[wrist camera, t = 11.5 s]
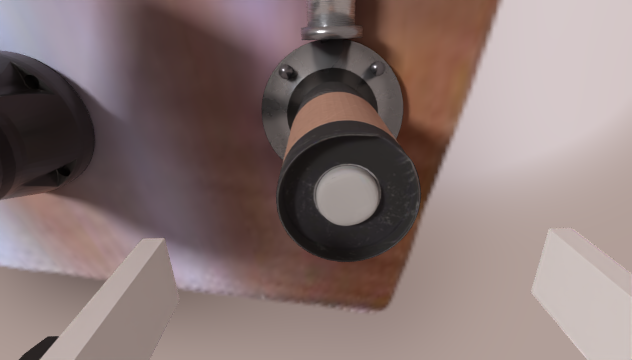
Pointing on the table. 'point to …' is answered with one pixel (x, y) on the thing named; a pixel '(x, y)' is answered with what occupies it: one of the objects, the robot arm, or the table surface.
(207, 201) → the table surface
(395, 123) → the fitting
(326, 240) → the travel mug
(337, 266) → the table surface
